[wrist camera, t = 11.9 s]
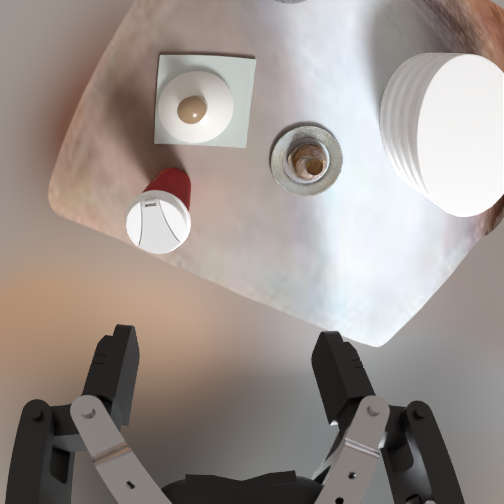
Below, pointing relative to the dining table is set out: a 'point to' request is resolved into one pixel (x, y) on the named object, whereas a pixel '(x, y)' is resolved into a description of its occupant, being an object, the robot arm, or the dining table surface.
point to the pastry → (307, 161)
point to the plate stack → (447, 129)
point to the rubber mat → (227, 69)
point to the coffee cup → (161, 213)
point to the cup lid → (195, 107)
